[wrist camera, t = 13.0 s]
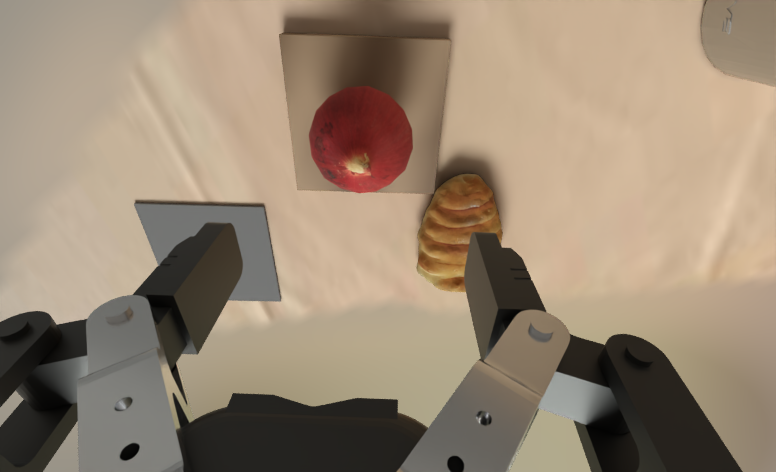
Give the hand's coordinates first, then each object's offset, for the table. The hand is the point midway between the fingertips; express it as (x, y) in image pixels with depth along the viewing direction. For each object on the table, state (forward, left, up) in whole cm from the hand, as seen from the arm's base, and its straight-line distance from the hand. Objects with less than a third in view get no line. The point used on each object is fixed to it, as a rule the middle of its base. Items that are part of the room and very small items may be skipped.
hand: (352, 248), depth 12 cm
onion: (0, 0, -14) cm, 14 cm away
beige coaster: (0, 0, -15) cm, 15 cm away
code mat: (+13, +12, -15) cm, 23 cm away
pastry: (-7, +9, -15) cm, 19 cm away
